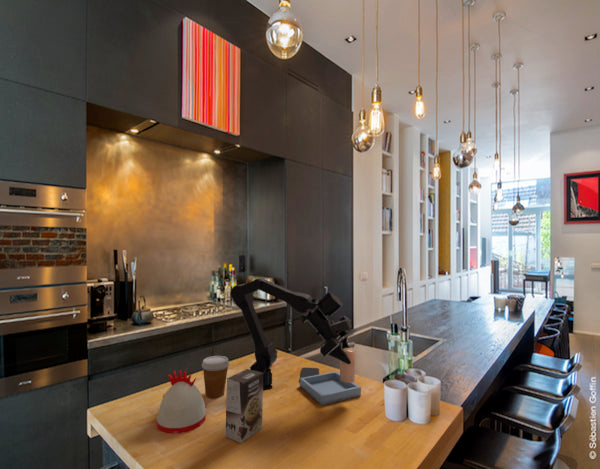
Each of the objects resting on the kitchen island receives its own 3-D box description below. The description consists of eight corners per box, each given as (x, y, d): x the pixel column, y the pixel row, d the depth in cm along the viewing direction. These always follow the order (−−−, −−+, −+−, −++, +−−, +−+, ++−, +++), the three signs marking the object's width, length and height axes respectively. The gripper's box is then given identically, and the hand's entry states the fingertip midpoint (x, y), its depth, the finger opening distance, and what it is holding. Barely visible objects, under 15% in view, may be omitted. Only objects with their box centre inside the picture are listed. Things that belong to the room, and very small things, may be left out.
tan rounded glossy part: (346, 383, 112) (347, 353, 112) (336, 378, 116) (337, 349, 116) (357, 380, 115) (358, 351, 115) (347, 375, 119) (348, 347, 119)
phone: (298, 382, 129) (301, 367, 144) (298, 384, 129) (301, 369, 144) (318, 383, 129) (319, 368, 143) (318, 385, 128) (319, 370, 143)
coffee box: (242, 444, 90) (243, 383, 91) (224, 436, 94) (225, 377, 94) (263, 428, 98) (264, 372, 98) (246, 421, 101) (247, 367, 102)
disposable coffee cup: (195, 397, 116) (195, 362, 116) (212, 386, 125) (212, 353, 125) (218, 402, 113) (218, 366, 113) (234, 391, 122) (234, 357, 122)
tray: (321, 405, 112) (322, 396, 112) (299, 386, 126) (300, 378, 126) (360, 395, 119) (360, 387, 120) (335, 378, 134) (335, 371, 134)
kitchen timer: (168, 408, 109) (169, 361, 109) (211, 410, 108) (212, 362, 108) (147, 433, 95) (149, 379, 95) (196, 435, 94) (197, 380, 95)
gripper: (330, 315, 109) (364, 355, 105) (344, 305, 126) (373, 339, 122) (306, 336, 111) (338, 376, 107) (323, 323, 129) (351, 357, 125)
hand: (351, 360), depth 115 cm, fingers closed on tan rounded glossy part, 5 cm apart
